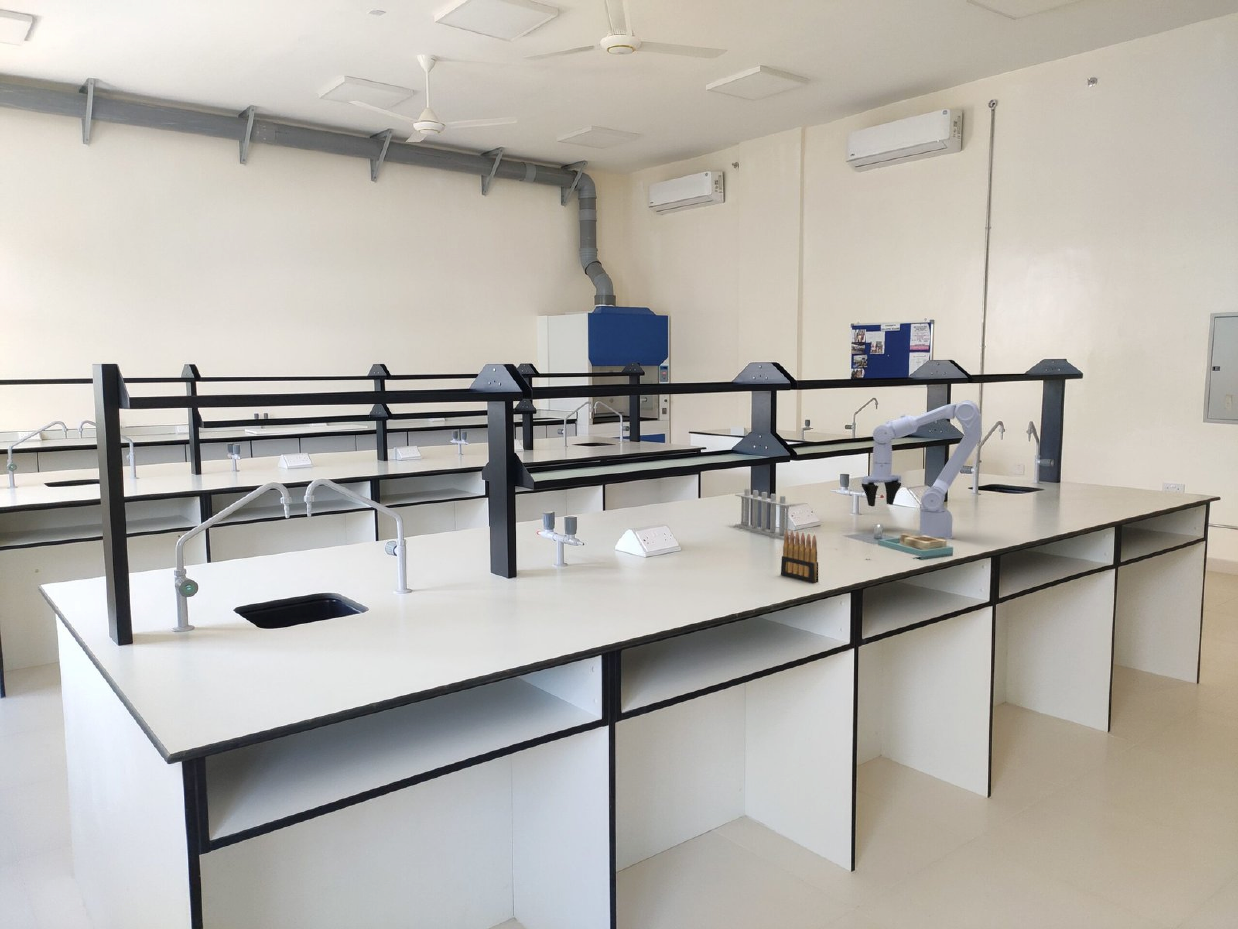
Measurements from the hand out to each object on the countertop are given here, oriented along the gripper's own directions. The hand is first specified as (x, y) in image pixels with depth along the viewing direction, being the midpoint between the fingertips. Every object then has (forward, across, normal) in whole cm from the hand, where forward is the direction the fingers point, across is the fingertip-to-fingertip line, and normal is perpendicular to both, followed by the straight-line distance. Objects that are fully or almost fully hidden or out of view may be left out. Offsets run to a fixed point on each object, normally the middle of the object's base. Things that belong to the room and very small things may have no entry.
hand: (880, 505), depth 269 cm
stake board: (+9, +9, +7) cm, 15 cm away
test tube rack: (+10, +32, -19) cm, 38 cm away
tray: (+9, +9, +24) cm, 27 cm away
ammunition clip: (+10, +58, +34) cm, 68 cm away
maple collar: (+9, +8, +25) cm, 28 cm away
